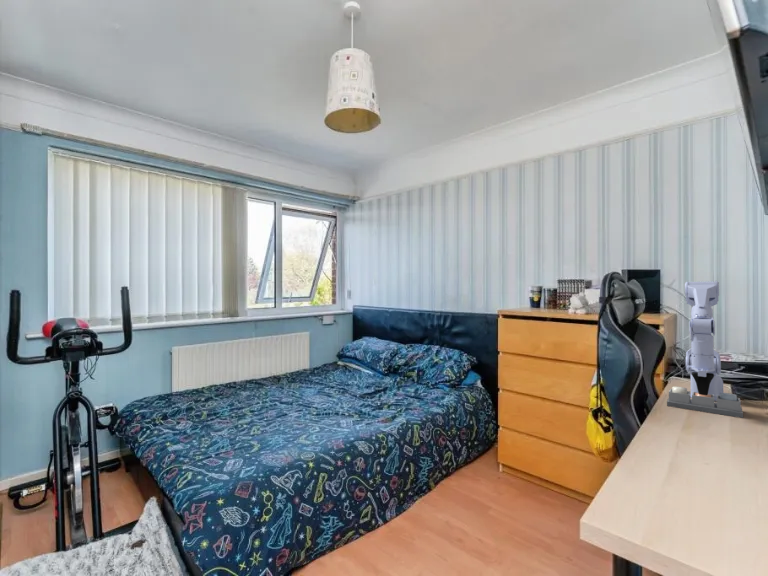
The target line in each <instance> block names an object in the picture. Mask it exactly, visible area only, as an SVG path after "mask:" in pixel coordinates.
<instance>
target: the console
mask: <svg viewBox="0 0 768 576" xmlns="http://www.w3.org/2000/svg"><path fill="white" fill-rule="evenodd" d="M695 393H698V392H693V393H692V398H691V395H690V394H691V390H690V391H689V390H687V394H681V393H674V392H672V388H670V389H669V391H668V399H667V401H666V406H667V407H672V408H679V409H683V410H684V409H685V410H690V411H691V410H692V411H695V412H696V411H697V412H703V413H704V412H705V413H709V414H715V415H723V416H728V417H734V418H741V419H744V412H743V408H742V406H741V405H742V402H741V398H740V397H737V401H732V400H724V399H720V395H717V401H716V402H715V401H714V395H712V394H710V395H711V398H710V397H703V396H696V395H695Z"/></svg>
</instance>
